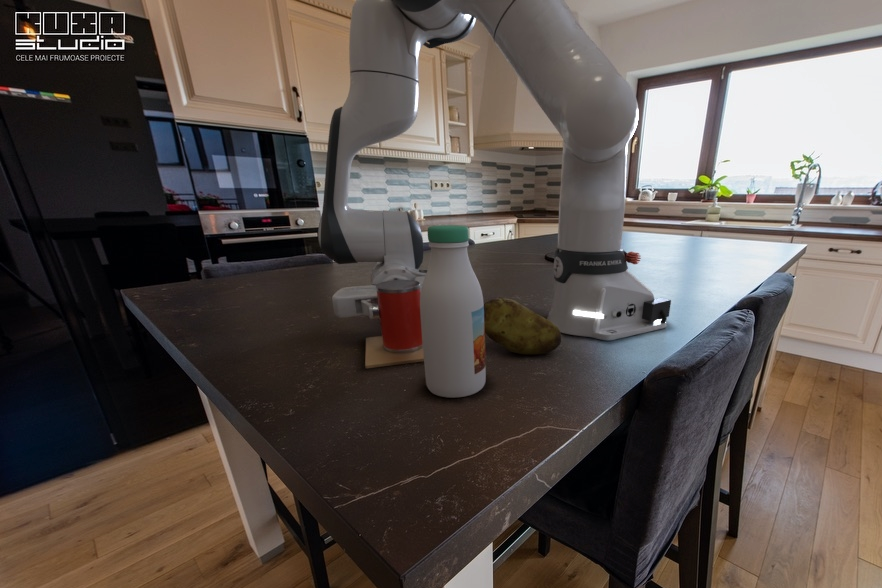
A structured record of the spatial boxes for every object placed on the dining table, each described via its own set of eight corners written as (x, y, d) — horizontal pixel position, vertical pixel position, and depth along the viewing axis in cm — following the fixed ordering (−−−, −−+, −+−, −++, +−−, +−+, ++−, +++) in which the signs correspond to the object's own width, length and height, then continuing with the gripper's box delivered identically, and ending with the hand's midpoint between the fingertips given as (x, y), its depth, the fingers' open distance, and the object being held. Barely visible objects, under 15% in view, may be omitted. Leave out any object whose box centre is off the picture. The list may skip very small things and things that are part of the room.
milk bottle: (460, 405, 46) (452, 230, 39) (413, 389, 50) (397, 226, 43) (497, 380, 53) (495, 225, 45) (452, 367, 56) (444, 222, 49)
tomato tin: (422, 336, 67) (417, 278, 63) (427, 350, 61) (422, 287, 58) (382, 341, 65) (375, 281, 61) (383, 355, 59) (375, 290, 56)
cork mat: (437, 332, 70) (437, 330, 70) (449, 358, 60) (449, 355, 60) (366, 340, 67) (366, 337, 67) (365, 368, 56) (365, 365, 56)
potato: (537, 368, 56) (539, 314, 53) (470, 348, 63) (468, 300, 61) (566, 350, 63) (568, 301, 60) (501, 334, 70) (501, 290, 67)
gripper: (332, 277, 68) (323, 296, 56) (449, 270, 74) (465, 286, 62) (337, 312, 70) (330, 337, 58) (451, 302, 77) (466, 324, 64)
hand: (401, 311), depth 60 cm, fingers closed on tomato tin, 6 cm apart
